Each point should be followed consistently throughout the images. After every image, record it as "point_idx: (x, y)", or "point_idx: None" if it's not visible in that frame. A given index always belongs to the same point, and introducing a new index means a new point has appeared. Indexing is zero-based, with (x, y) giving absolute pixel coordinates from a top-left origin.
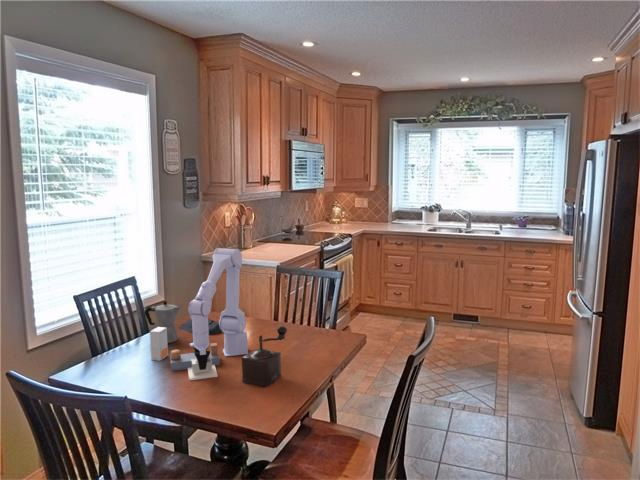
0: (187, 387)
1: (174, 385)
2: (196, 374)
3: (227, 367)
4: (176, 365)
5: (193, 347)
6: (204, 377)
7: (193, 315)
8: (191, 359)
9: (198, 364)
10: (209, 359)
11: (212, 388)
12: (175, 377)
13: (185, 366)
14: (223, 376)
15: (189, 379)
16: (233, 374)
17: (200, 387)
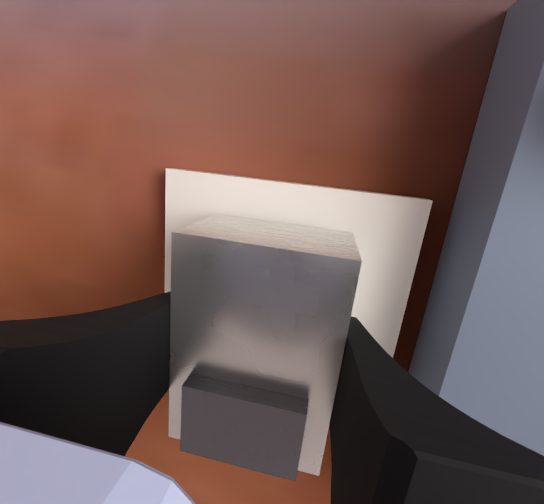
0: (59, 131)
1: (121, 22)
2: None
3: (303, 473)
4: (519, 62)
5: (400, 454)
6: (169, 288)
7: None
8: (354, 261)
9: (143, 299)
10: (194, 443)
11: (13, 289)
12: (294, 48)
13: (473, 182)
14: (164, 401)
15: (171, 170)
16: (173, 457)
17: (41, 223)
